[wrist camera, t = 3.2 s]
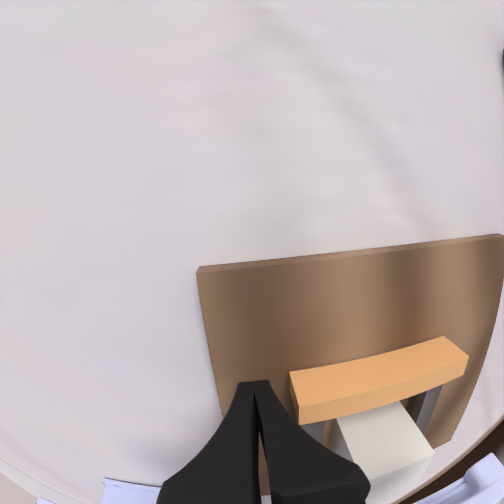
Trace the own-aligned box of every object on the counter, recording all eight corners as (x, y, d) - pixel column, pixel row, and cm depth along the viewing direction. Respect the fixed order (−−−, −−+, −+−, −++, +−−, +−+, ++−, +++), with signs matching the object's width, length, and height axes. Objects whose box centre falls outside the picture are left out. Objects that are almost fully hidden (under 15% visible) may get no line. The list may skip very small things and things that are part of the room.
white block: (329, 453, 14) (348, 512, 9) (334, 414, 13) (362, 481, 8) (384, 438, 14) (412, 489, 9) (396, 397, 13) (435, 453, 9)
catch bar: (289, 390, 13) (298, 425, 10) (289, 371, 12) (298, 406, 10) (439, 353, 13) (463, 374, 10) (443, 335, 13) (469, 356, 10)
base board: (244, 487, 16) (245, 511, 14) (199, 266, 12) (190, 284, 10) (444, 434, 16) (457, 450, 14) (497, 233, 13) (524, 240, 10)
